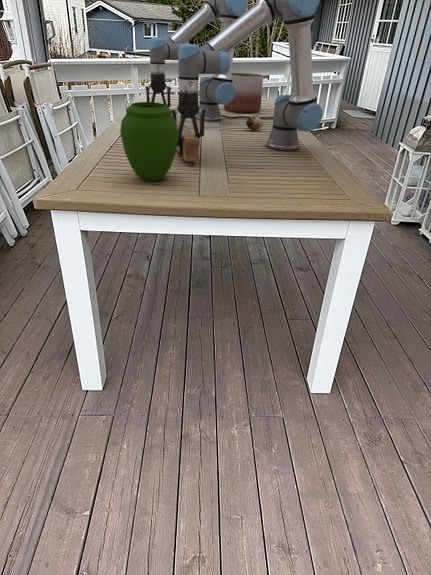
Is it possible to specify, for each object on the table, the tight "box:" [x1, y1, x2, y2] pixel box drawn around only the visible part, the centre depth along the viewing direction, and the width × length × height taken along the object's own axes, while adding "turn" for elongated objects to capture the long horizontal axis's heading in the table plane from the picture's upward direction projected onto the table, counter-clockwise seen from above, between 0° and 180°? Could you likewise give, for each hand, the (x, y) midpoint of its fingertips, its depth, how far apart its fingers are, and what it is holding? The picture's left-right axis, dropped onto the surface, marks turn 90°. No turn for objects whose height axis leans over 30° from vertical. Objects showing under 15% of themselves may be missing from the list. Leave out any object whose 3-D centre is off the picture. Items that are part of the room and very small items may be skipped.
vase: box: [119, 101, 179, 182], centre depth 140 cm, size 20×20×24 cm
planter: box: [223, 72, 264, 114], centre depth 276 cm, size 25×25×22 cm
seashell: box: [245, 114, 264, 131], centre depth 224 cm, size 10×6×8 cm, turn 97°
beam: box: [171, 113, 200, 162], centre depth 193 cm, size 84×5×8 cm, turn 16°
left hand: (159, 121), depth 223 cm, fingers closed on beam, 5 cm apart
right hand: (188, 154), depth 166 cm, fingers closed on beam, 5 cm apart
